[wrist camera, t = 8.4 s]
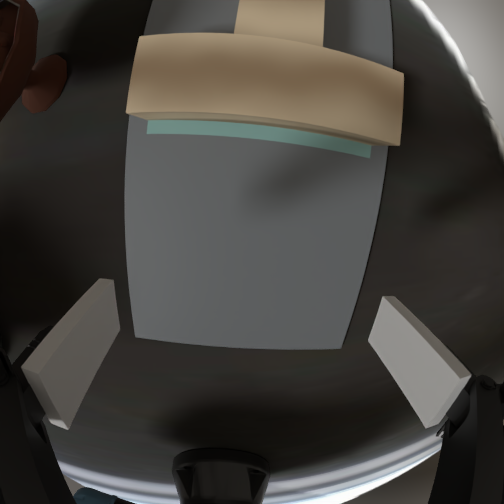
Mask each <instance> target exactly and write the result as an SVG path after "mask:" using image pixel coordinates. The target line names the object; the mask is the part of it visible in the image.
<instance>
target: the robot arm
mask: <svg viewBox="0 0 504 504" xmlns="http://www.w3.org/2000/svg"><path fill="white" fill-rule="evenodd" d="M119 331H120V325H119V318H118V312H117V304H116V297H115V288H114V280H109V279H101V278H100V279H99V280H98V281H97V282H96V283H95V284H94V285H93V286H92V287H91V288H90V289H89V290H88V291H87V292H86V293H85V294H84V295H83V296H82V297H81V298H80V299H79V300H78V301H77V302H76V303H75V304H74V305H73V307H72V308H71V309H70V310H69V311H68V312H67V313H66V314H65V315H64V316H63V317H62V319H61V320H60V321H59V322H58V323H57V324H56V325H55V326H54V327H53V326H49V327H47V328H45V329H44V330H42V331H40V332H39V334H38V335H37V336H36V337H35V338H34V341H33V340H32V342H31V343H30V344H29V346H28V347H26V349H25V350H24V351H23V352H22V353H21V354H20V356H19V357H18V358H17V359H16V361H15V362H14V363H13V364H12V365H11V363H10V360H9V358H8V356H7V354H6V351H5V350H4V349H3V348H0V504H135V503H132V502H129V501H126V500H123V499H120V498H118V497H117V496H115V495H109V494H106V493H103V492H100V491H98V490H95V489H92V488H88V487H84V488H80V489H79V490H77V492H76V493H75V494H74V496H72V494H71V492H70V490H69V487H68V485H67V483H66V481H65V479H64V476H63V474H62V472H61V469H60V467H59V465H58V462H57V459H56V457H55V454H54V451H53V449H52V446H51V443H50V440H49V437H48V434H47V431H46V427H45V425H44V423H43V421H42V419H43V417H44V415H45V414H46V415H47V417H48V419H49V420H50V422H51V423H52V424H54V425H57V426H59V427H62V428H65V429H67V430H69V427H70V425H71V423H72V421H73V419H74V417H75V414H76V412H77V410H78V408H79V406H80V404H81V402H82V400H83V398H84V396H85V394H86V392H87V390H88V388H89V386H90V384H91V382H92V380H93V378H94V376H95V374H96V372H97V370H98V368H99V367H100V365H101V363H102V361H103V359H104V357H105V355H106V354H107V352H108V350H109V348H110V346H111V345H112V343H113V341H114V339H115V338H116V336H117V334H118V332H119ZM368 341H369V343H370V344H371V345H372V347H373V348H374V350H375V351H376V353H377V354H378V356H379V357H380V359H381V360H382V361H383V363H384V364H385V366H386V367H387V369H388V370H389V372H390V373H391V375H392V376H393V378H394V379H395V381H396V382H397V384H398V385H399V387H400V388H401V390H402V392H403V393H404V395H405V396H406V398H407V399H408V401H409V402H410V404H411V406H412V407H413V409H414V410H415V412H416V413H417V415H418V417H419V418H420V420H421V421H422V423H423V425H424V426H425V428H428V427H431V426H434V425H436V424H438V423H439V422H440V421H441V420H442V418H443V417H444V416H445V414H447V416H448V417H449V418H448V420H447V421H446V422H445V424H444V425H443V426H442V427H441V429H440V430H439V431H438V432H437V434H436V436H437V437H438V436H439V435H440V433H441V432H442V431H444V434H443V435H442V436H441V438H443V441H442V447H441V453H440V458H439V463H438V467H437V472H436V476H435V480H434V484H433V488H432V491H431V495H430V498H429V501H428V504H504V426H503V419H504V382H503V384H496V382H495V381H494V380H493V379H491V378H490V377H488V376H484V375H480V376H478V377H476V376H475V375H474V374H473V373H472V372H471V371H470V370H469V369H468V367H467V366H466V365H465V364H464V363H463V362H462V361H461V360H460V359H458V357H457V356H456V355H455V354H454V353H453V352H452V351H451V350H450V348H449V347H448V346H446V345H445V344H443V343H442V342H441V341H440V340H439V339H438V338H437V337H436V336H435V335H434V334H433V333H432V332H431V331H430V330H429V329H428V328H427V327H426V326H425V325H424V324H423V323H422V322H421V321H420V320H419V319H418V318H417V317H416V316H414V315H413V314H412V313H411V312H410V311H409V310H408V309H407V308H406V307H405V306H404V305H403V304H402V303H401V302H400V301H399V300H398V299H397V298H396V297H394V296H383V297H382V300H381V304H380V307H379V310H378V313H377V316H376V319H375V322H374V325H373V328H372V331H371V333H370V336H369V339H368ZM172 474H173V478H174V482H175V485H176V489H177V492H178V496H179V499H180V504H262V502H263V499H264V496H265V492H266V489H267V486H268V482H269V479H270V471H269V464H268V462H267V461H266V460H265V459H263V458H262V457H260V456H257V455H254V454H251V453H247V452H243V451H236V450H228V449H198V450H191V451H187V452H183V453H181V454H179V455H177V456H176V457H175V458H174V460H173V467H172Z"/></svg>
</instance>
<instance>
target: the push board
mask: <svg viewBox="0 0 504 504" xmlns="http://www.w3.org/2000/svg"><path fill="white" fill-rule="evenodd" d="M238 6H239V0H153V1H152V5H151V8H150V12H149V15H148V19H147V23H146V27H145V31H144V35H143V36H148V35H158V34H172V33H230V34H234V30H235V24H236V18H237V12H238ZM323 47H324V48H329V49H332V50H336V51H340V52H344V53H347V54H350V55H354V56H357V57H360V58H363V59H366V60H369V61H372V62H375V63H378V64H381V65H383V66H386V67H389V68H391V69H393V43H392V23H391V11H390V1H389V0H325V10H324V34H323ZM387 152H388V146H371V145H367V144H363V143H359V142H355V141H350V140H346V139H341V138H337V137H332V136H327V135H322V134H316V133H311V132H305V131H299V130H292V129H286V128H279V127H271V126H263V125H254V124H244V123H232V122H218V121H197V120H145V119H142V118H139V117H136V116H133V115H130V116H129V125H128V136H127V149H126V167H125V239H126V257H127V271H128V282H129V292H130V301H131V309H132V317H133V324H134V330H135V337H139V338H146V339H153V340H160V341H168V342H177V343H186V344H196V345H207V346H219V347H234V348H254V349H341V346H342V344H343V341H344V338H345V335H346V332H347V329H348V326H349V323H350V320H351V317H352V314H353V310H354V307H355V304H356V301H357V297H358V294H359V290H360V287H361V283H362V280H363V276H364V272H365V268H366V264H367V260H368V256H369V252H370V248H371V244H372V239H373V235H374V230H375V225H376V220H377V215H378V210H379V205H380V199H381V193H382V187H383V181H384V174H385V167H386V160H387Z"/></svg>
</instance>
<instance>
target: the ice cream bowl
mask: <svg viewBox="0 0 504 504" xmlns="http://www.w3.org/2000/svg"><path fill="white" fill-rule="evenodd" d="M37 30H38V18H37V15H36V12H35V9H34V8H33V7H32V6H31V5H30V4H29V3H28V2H27V1H26V0H0V122H1V120H2V119H3V117H4V116H5V115H6V113H7V112H8V111H9V109H10V108H11V107H12V105H13V104H14V103H15V101H16V100H17V99H18V98H19V97H20V95H21V94H22V104H23V105H24V106H25V107H26V108H27V109H28V110H29V111H30V112H32V113H37V112H41V111H46V110H47V109H48V108H49V107H50V106H51V105H52V104H53V103H54V102H55V101H56V100H57V99H58V98H59V96H60V94H61V91H62V89H63V86H64V84H65V82H66V79H67V63H66V61H65V60H64V59H62V58H61V57H60V56H58V55H51V56H48V57H45V58H42V59H40V60H39V61H38V62H37V63H36V64H35V65H34V63H35V58H36V44H37ZM33 65H34V66H33Z"/></svg>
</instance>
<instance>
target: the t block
mask: <svg viewBox="0 0 504 504" xmlns="http://www.w3.org/2000/svg"><path fill="white" fill-rule="evenodd" d="M324 10H325V0H239V6H238V12H237V18H236V24H235V30H234V34H230V33H172V34H158V35H148V36H139V40H138V45H137V49H136V54H135V59H134V64H133V69H132V75H131V81H130V87H129V94H128V101H127V109H126V113H127V114H130V115H133V116H136V117H139V118H142V119H145V120H197V121H218V122H232V123H244V124H254V125H263V126H271V127H279V128H286V129H292V130H299V131H305V132H311V133H316V134H322V135H327V136H332V137H337V138H341V139H346V140H350V141H355V142H359V143H363V144H367V145H371V146H400V138H401V127H402V114H403V93H404V74H403V73H401V72H399V71H396V70H394V69H391V68H389V67H386V66H383V65H381V64H378V63H375V62H372V61H369V60H366V59H363V58H360V57H357V56H354V55H350V54H347V53H344V52H340V51H336V50H332V49H329V48H324V47H323V34H324Z"/></svg>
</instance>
